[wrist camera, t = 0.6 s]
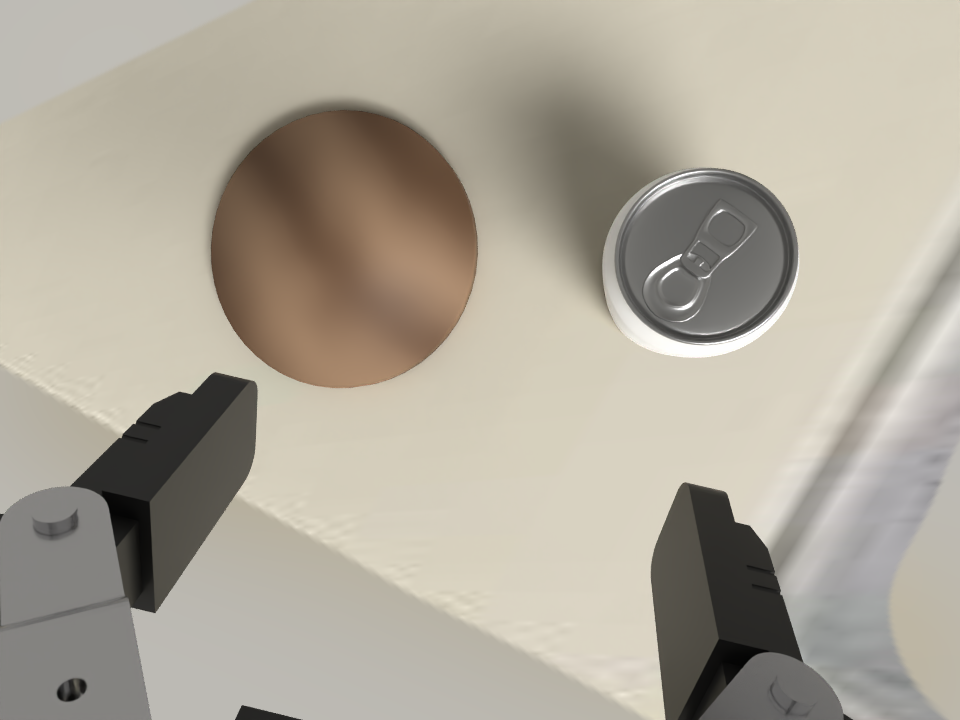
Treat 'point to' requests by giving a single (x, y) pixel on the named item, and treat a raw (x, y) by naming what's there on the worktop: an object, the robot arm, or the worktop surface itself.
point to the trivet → (344, 249)
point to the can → (699, 263)
